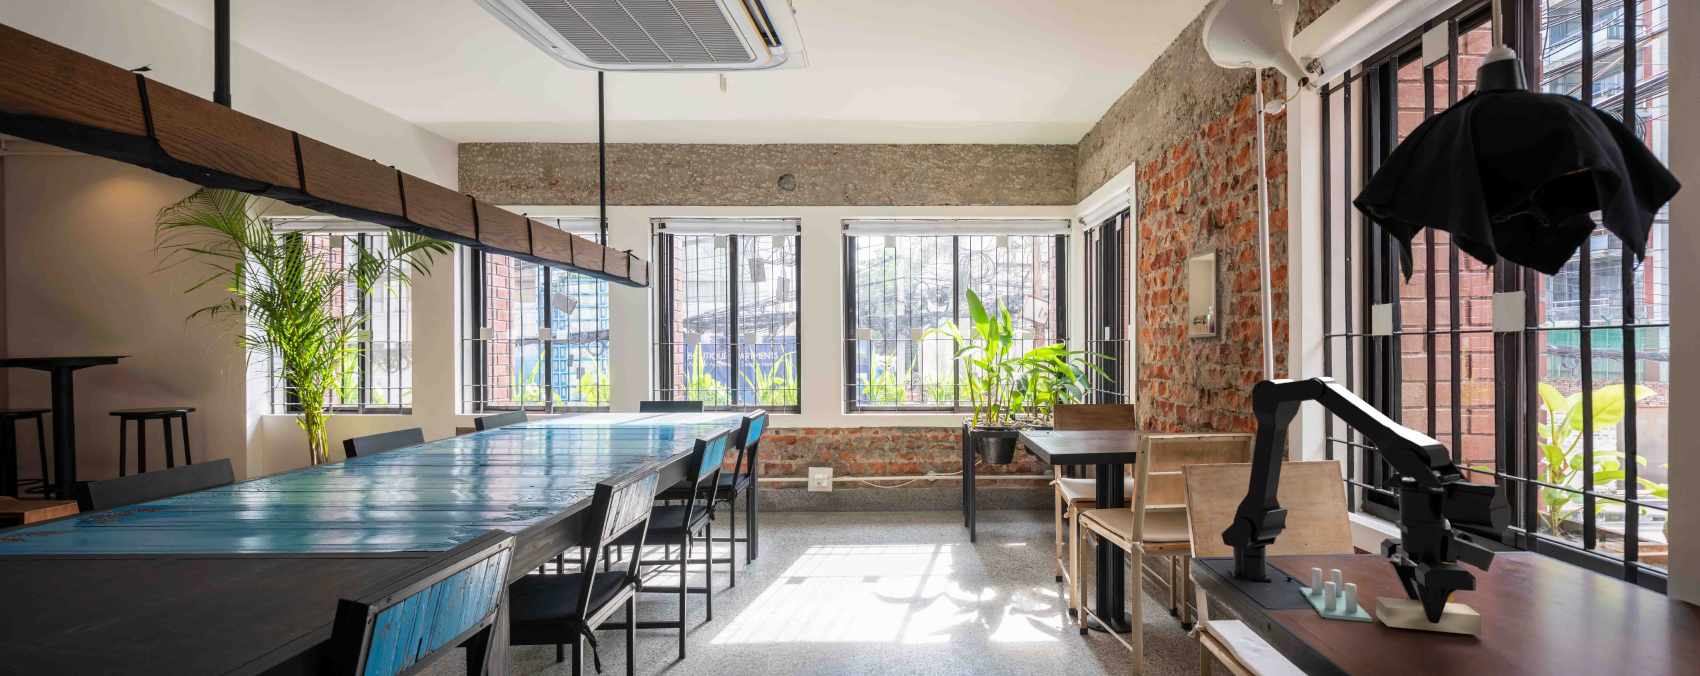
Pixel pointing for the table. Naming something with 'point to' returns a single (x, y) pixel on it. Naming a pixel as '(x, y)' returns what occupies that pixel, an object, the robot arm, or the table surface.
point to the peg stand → (1334, 597)
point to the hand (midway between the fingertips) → (1426, 616)
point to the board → (1426, 616)
